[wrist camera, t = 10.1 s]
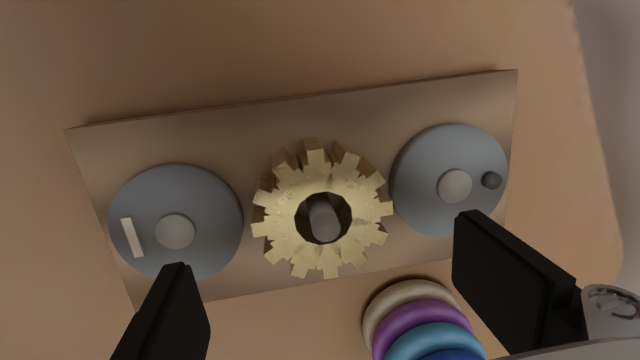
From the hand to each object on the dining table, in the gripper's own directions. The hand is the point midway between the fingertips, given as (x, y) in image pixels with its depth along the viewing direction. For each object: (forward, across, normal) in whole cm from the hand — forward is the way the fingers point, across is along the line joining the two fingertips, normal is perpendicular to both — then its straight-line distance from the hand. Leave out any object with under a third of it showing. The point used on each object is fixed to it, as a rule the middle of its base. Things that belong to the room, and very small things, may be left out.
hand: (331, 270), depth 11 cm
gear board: (+10, 0, +1) cm, 10 cm away
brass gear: (+8, 0, +1) cm, 8 cm away
